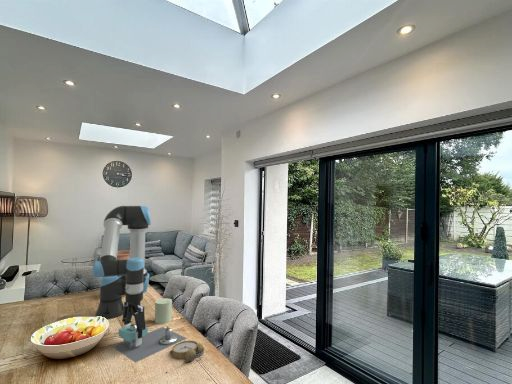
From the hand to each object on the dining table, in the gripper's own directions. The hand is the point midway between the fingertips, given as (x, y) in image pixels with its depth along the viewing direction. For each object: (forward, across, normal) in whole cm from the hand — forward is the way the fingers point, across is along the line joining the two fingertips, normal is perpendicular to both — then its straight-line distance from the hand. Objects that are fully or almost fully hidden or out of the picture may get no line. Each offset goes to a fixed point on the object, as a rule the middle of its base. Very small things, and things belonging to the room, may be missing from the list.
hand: (133, 341), depth 127 cm
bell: (+1, +10, +12) cm, 16 cm away
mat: (+2, +5, +6) cm, 8 cm away
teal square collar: (-3, 0, 0) cm, 3 cm away
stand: (+1, 0, 0) cm, 1 cm away
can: (+2, -12, +24) cm, 27 cm away
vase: (+2, -78, +32) cm, 85 cm away
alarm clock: (+2, +26, +11) cm, 28 cm away
